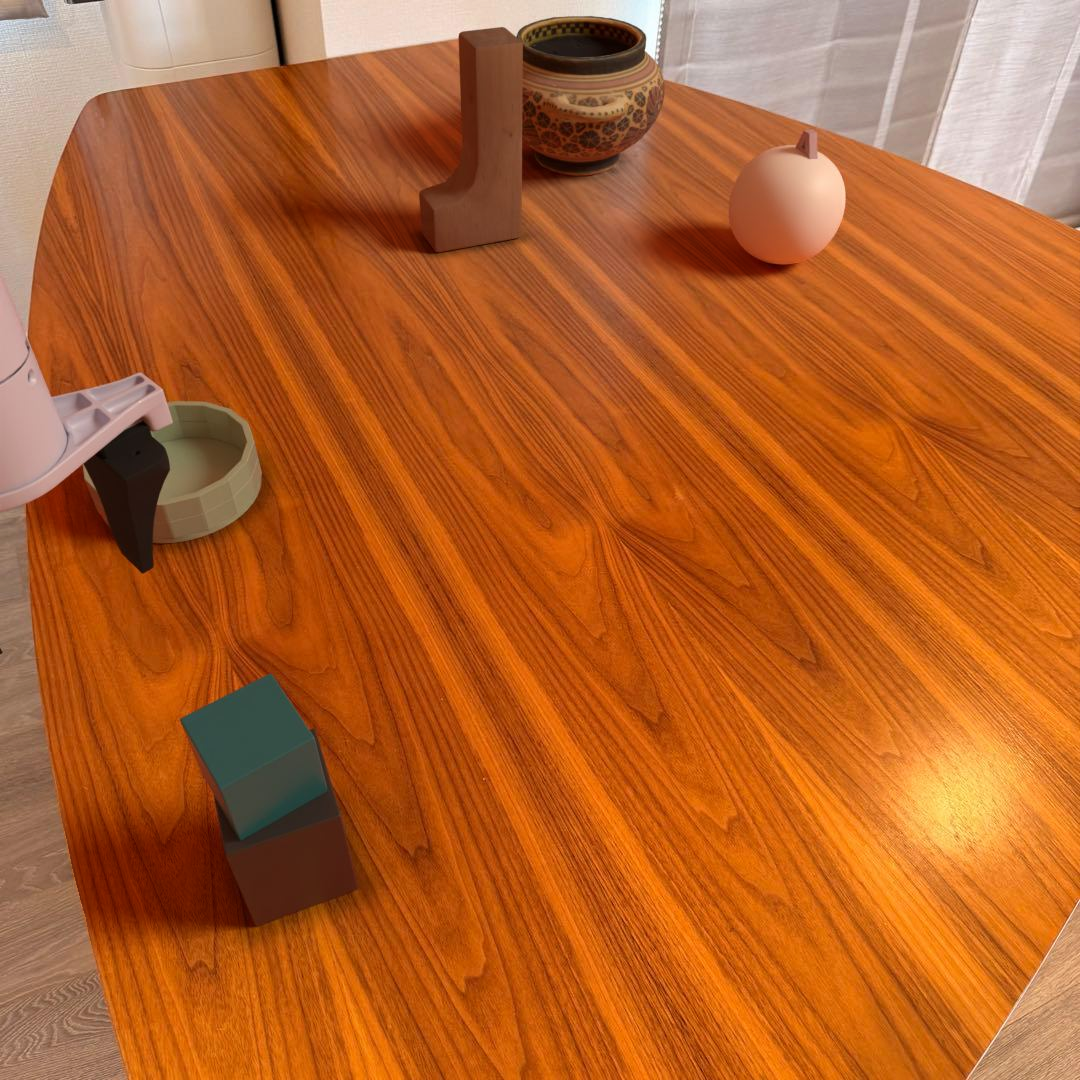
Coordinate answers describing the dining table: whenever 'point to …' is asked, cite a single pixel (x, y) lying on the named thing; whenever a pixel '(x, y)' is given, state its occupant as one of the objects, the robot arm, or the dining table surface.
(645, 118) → the ceramic bowl
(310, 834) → the dark brown block
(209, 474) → the dish
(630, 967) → the dining table surface
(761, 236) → the ornament
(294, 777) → the teal block
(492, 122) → the wooden block
